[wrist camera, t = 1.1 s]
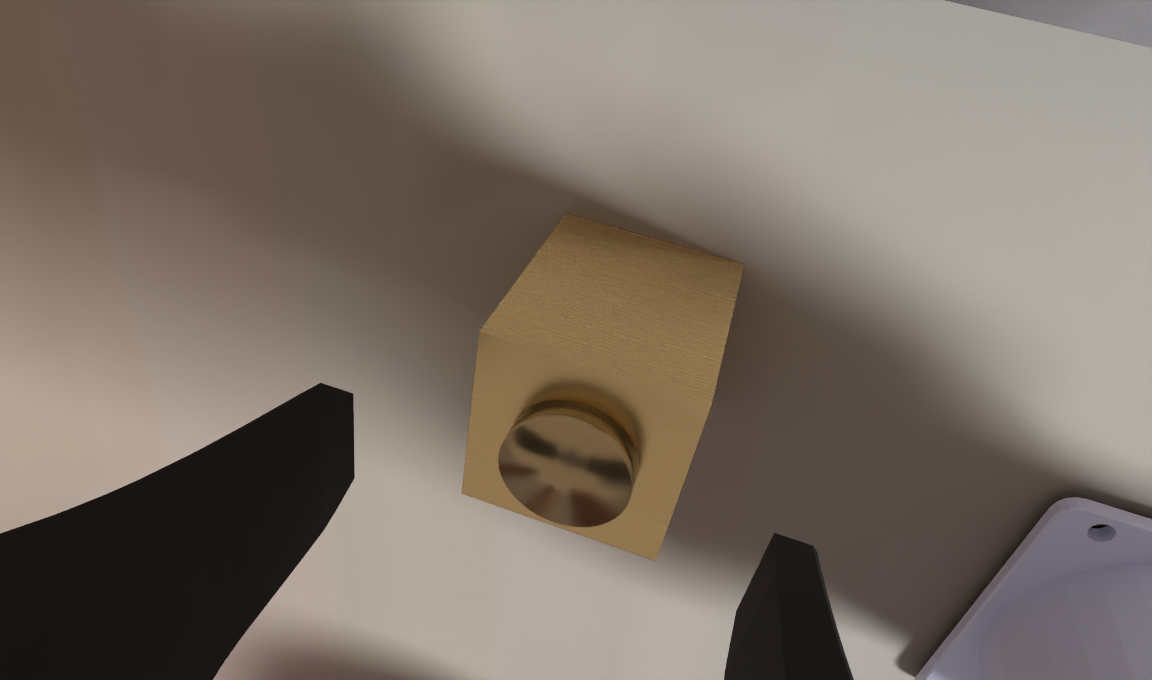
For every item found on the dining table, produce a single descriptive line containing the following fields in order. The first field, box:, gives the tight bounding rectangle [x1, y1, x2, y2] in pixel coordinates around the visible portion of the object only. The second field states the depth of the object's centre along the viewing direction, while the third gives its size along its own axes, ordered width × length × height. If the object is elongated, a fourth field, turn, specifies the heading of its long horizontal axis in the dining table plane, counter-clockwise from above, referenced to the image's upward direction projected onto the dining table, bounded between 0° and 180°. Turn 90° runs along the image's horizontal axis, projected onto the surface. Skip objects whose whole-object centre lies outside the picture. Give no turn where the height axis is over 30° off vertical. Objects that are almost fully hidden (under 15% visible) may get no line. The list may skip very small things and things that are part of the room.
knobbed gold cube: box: [462, 213, 744, 561], centre depth 15 cm, size 4×4×6 cm
